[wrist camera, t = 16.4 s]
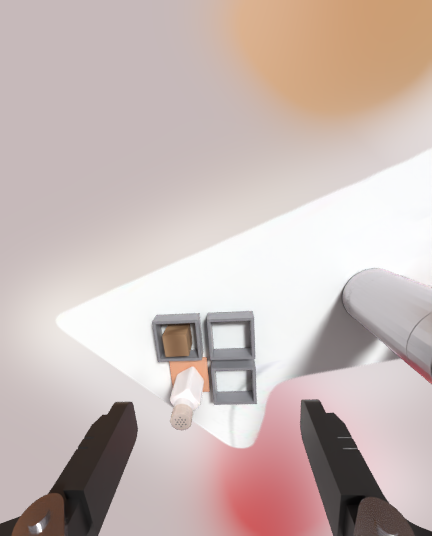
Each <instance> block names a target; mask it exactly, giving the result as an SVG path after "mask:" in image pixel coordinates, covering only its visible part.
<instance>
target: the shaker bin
mask: <svg viewBox="0 0 432 536" xmlns="http://www.w3.org/2000/svg"><path fill="white" fill-rule="evenodd" d="M228 370H252V391H234V392H217V382H216V371H228ZM211 374H212V385H213V397H214V405H221V404H257V399H256V367H255V362H254V359H234V360H212V364H211Z"/></svg>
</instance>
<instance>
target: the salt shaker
mask: <svg viewBox="0 0 432 536" xmlns="http://www.w3.org/2000/svg"><path fill="white" fill-rule="evenodd" d="M203 384H204V380H203V378H202V376H201V375H200V374H199V373H198V371H197V370H196V369H195V367H193V366H192V367H190V368H188V369H186V370H184V371H182V372H180V373H179V374H178V375H177V377H176V380H175V383H174V386H173V390H172V393H171V396H170V402H171V403H172V405H173V407H174V408H173V412H172V415H171V420H170V423H171V425H172V426H173V427H174V428H175V429H177V430H186V429H188V428H189V427H190V426H191V422H192V416H193V411H195V410H196V409H198V408H199V407H200V405H201V399H202V391H203Z"/></svg>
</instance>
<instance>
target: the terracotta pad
mask: <svg viewBox="0 0 432 536" xmlns="http://www.w3.org/2000/svg"><path fill="white" fill-rule="evenodd" d="M169 363H170V370H171V378H172V385H173V386H174V383H175V380H176V377H177V375H178V374H179V373H180V372H182V371H184V370H186V369H188V368H190V367H192V366H193V367H195V369H196V370H197V371H198V373H199V374H200V375H201V376H202V378H203V380H204V384H203V391H202V392H210V384H209V373H208V363H207V357H202V360H197V361H169Z"/></svg>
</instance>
